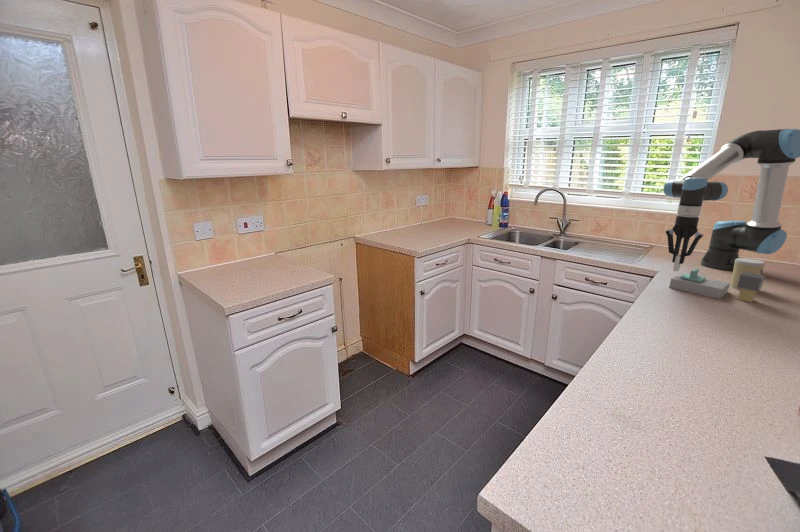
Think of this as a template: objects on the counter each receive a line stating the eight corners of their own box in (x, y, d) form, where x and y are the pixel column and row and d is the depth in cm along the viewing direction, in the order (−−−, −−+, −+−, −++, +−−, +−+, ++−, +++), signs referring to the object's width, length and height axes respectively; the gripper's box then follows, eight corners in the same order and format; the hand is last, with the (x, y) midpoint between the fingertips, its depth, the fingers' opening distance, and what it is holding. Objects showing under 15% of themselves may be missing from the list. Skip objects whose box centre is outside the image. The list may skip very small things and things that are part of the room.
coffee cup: (763, 292, 153) (771, 264, 149) (737, 290, 154) (744, 262, 151) (747, 284, 161) (755, 258, 158) (723, 283, 163) (730, 257, 160)
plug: (737, 295, 149) (744, 271, 146) (757, 300, 144) (764, 275, 142) (733, 299, 145) (740, 274, 142) (754, 303, 141) (761, 278, 138)
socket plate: (678, 281, 165) (680, 273, 164) (727, 292, 153) (730, 283, 152) (669, 287, 158) (671, 278, 157) (719, 298, 146) (722, 289, 144)
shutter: (685, 274, 161) (687, 266, 160) (705, 278, 156) (707, 270, 155) (680, 278, 157) (682, 269, 156) (700, 282, 151) (702, 273, 150)
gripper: (666, 214, 156) (655, 268, 163) (704, 218, 147) (691, 275, 153) (672, 213, 161) (661, 265, 168) (710, 216, 151) (697, 272, 158)
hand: (676, 270), depth 160 cm, fingers closed
